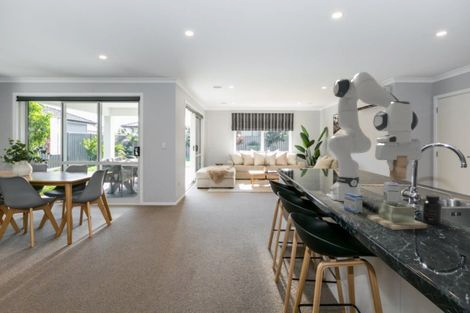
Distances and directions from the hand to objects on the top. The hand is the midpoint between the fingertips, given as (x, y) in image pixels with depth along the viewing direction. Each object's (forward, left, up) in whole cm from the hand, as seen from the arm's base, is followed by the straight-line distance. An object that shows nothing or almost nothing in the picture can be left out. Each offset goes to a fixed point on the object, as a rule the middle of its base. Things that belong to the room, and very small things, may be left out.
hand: (397, 170), depth 117 cm
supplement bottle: (+2, +17, -23) cm, 29 cm away
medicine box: (-21, -7, -23) cm, 32 cm away
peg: (0, 0, -4) cm, 4 cm away
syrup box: (-19, +13, -23) cm, 33 cm away
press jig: (0, 0, -23) cm, 23 cm away
